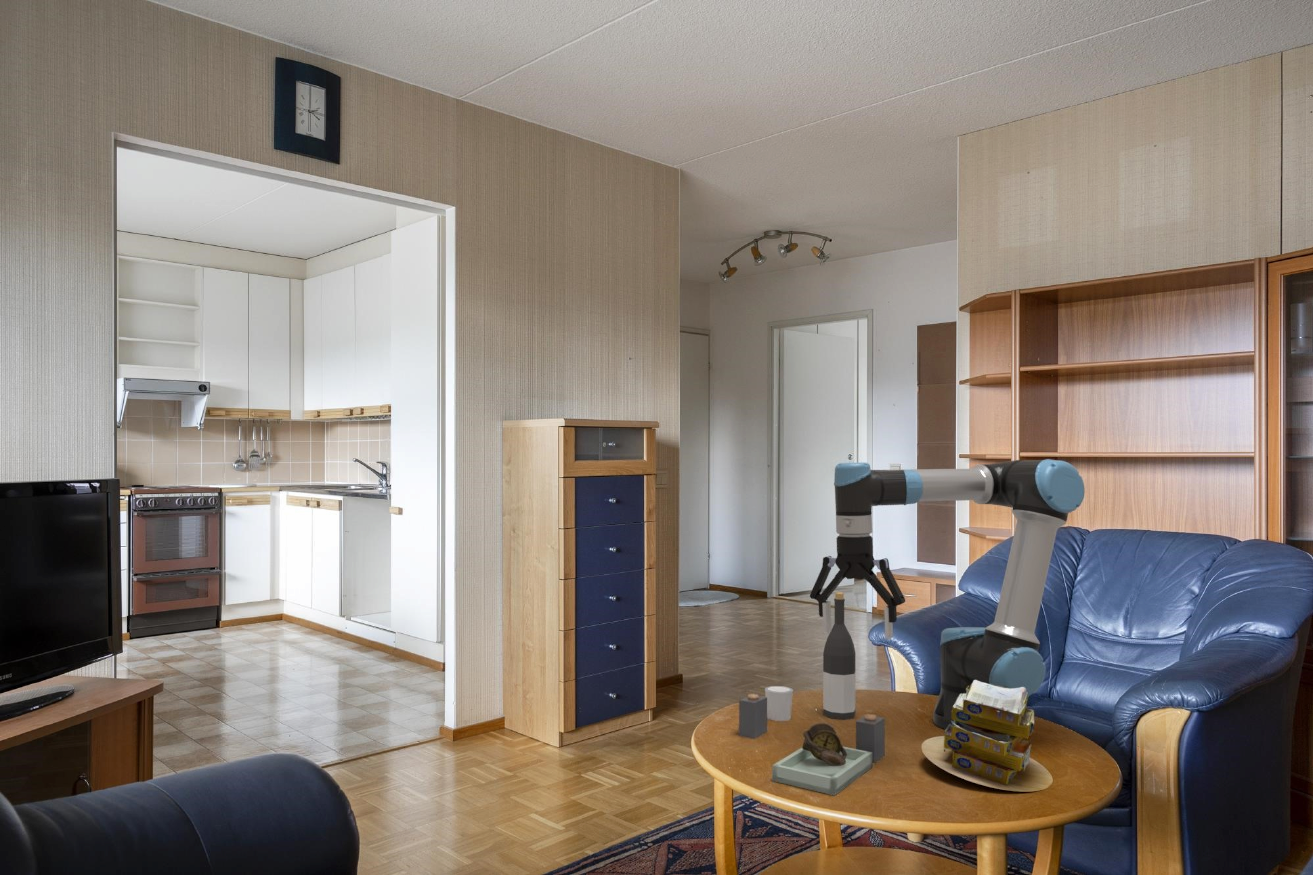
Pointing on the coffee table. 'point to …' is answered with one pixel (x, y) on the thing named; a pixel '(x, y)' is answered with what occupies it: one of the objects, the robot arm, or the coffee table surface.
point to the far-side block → (752, 716)
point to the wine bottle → (839, 668)
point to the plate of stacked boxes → (990, 740)
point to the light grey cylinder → (779, 702)
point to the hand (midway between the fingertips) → (857, 635)
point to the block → (871, 736)
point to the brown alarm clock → (824, 744)
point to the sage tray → (821, 771)
